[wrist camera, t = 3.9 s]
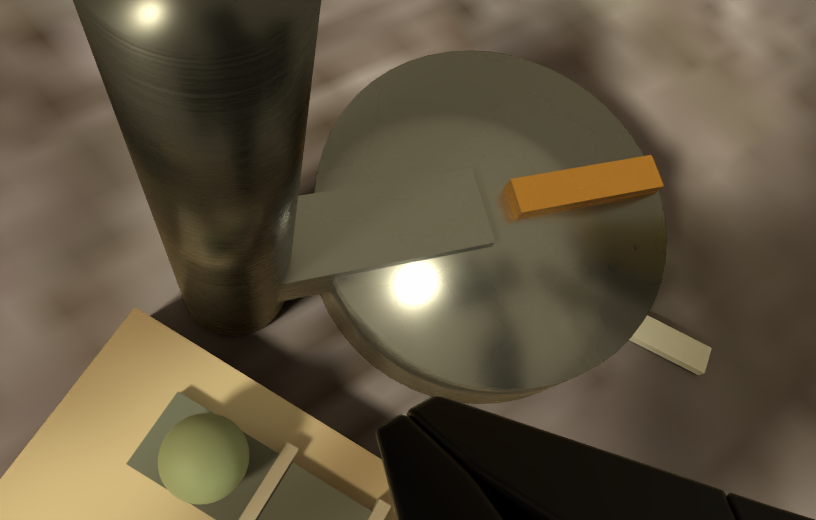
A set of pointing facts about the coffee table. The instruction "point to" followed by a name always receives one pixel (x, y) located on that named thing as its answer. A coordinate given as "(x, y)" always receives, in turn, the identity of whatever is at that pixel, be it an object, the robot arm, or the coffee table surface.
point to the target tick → (672, 345)
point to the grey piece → (387, 196)
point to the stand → (185, 445)
